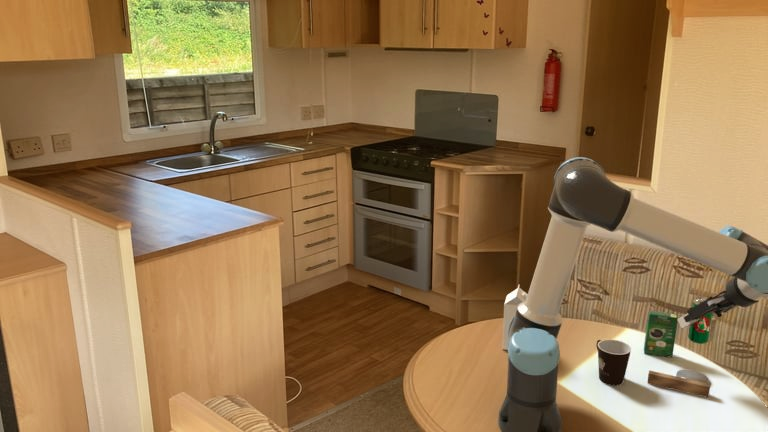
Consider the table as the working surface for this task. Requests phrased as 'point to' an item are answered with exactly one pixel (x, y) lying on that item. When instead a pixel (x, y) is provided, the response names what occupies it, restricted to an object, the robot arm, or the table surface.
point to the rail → (678, 383)
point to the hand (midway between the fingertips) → (688, 321)
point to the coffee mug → (612, 361)
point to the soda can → (700, 325)
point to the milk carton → (511, 311)
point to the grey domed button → (692, 375)
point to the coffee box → (660, 333)
